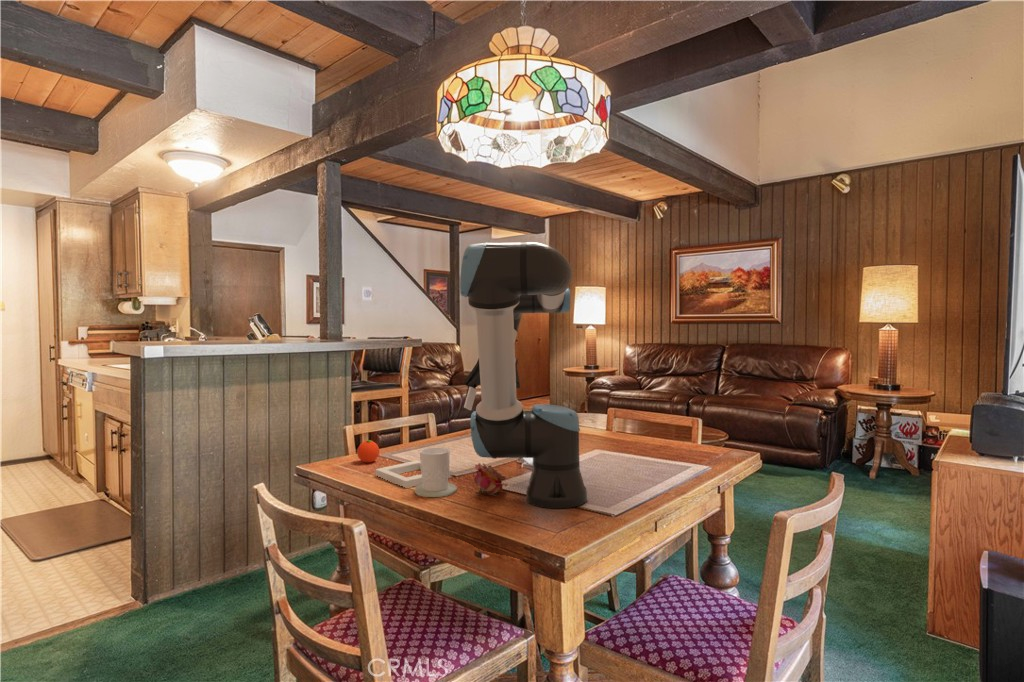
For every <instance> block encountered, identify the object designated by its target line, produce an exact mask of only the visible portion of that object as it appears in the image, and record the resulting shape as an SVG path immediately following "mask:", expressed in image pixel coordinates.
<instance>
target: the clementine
mask: <svg viewBox="0 0 1024 682" xmlns="http://www.w3.org/2000/svg"><path fill="white" fill-rule="evenodd" d="M356 452H357V453H356V455H357V457H358V459H359V460H360V461H362V462H363V463H367V464H368V463H373V462H374V461H376V460H377V459H378V457H379V454H380V447H379V446H378V444H377V443H376V442H374V441H373V440H372V439H371V440H364V441H363V442H361V443H360V444H359V446H358V447H357V450H356Z"/></svg>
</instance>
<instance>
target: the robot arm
mask: <svg viewBox="0 0 1024 682" xmlns="http://www.w3.org/2000/svg"><path fill="white" fill-rule="evenodd" d="M459 277H460V278H459V289H460V290H459V291H460V296H462V297H464V298H467V300H468V306H469V307H470V308H471V309H472V310H474V311H475V318H476V331H477V332H476V334H477V336H476V337H477V348H478V359H477V362H476V363H475V365H474V366H473V367H472V369H471V371H470V372H469V374H468V376H467V377H466V378H465V380H464V382H463V385H465V386H467V390H466V392H465V393H466V394H465V401H464V405H463V408H464V409H466V410H468V411H472V410H473V406H474V402H475V398H476V394H477V390H478V389H477V387H478V386H479V385H480V396H481V398H480V399H481V401H479V403H477V405H476V407H475V411H474V410H473V412H472V413H471V415H470V421H469V422H470V423H469V425H470V437H471V442H472V446H473V449H474V452H475V453H476V455H478V456H479V457H480V458H490V459H494V460H495V459H506V458H507V459H510V458H511V459H512V458H513V459H524V458H525V459H531V458H532V472H531V474H530V478H529V482H528V486H527V487H526V501H527V502H528V504H529V503H530V504H531V505H533V506H536V507H540V508H545V509H558V510H559V509H570V508H575V507H578V506H582V505H584V504H585V503H586V502H587V500H588V490H587V488H586V486H585V484H584V479H583V476H582V473H581V469H580V468H581V467H580V430H581V428H580V421H579V414H578V412H577V411H575V410H574V409H572V408H569V407H565V406H562V405H555V404H544V403H542V404H534V405H532V407H531V410H524V405H523V403H522V402H521V401H520V400H518V399H517V389H519V388H521V383H520V377H519V370H518V358H516V350H515V349H516V348H515V344H516V343H515V342H516V340H517V335H518V332H519V328H520V324H521V320H522V316H523V314H538V313H539V314H549V313H550V314H562V313H568V312H570V311H571V289H570V288H569V287H570V285H571V283H572V278H573V269H572V264H571V263H570V262H569V260H568V259H567V257H565V255H563V253H561V252H560V251H558V250H557V249H556V248H554V247H552V246H550V245H547V244H545V243H541V242H536V241H527V242H522V241H521V242H487V241H485V242H481V243H471V244H469V245H468V246H466V248H465V249H464V251H463V256H462V261H461V267H460V276H459ZM583 503H584V504H583ZM581 504H582V505H581Z"/></svg>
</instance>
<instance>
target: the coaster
mask: <svg viewBox="0 0 1024 682" xmlns="http://www.w3.org/2000/svg"><path fill="white" fill-rule="evenodd" d="M456 492H457V485H456V484H454V483H451V482H448V488H447V489H445V490H442V491H426V490H424V489H423V484H422V485H419V486H415V488H414V494H415V493H416V494H417V495H416V494H415V495H416V496H418V495H419V496H418V497H421V496H424V497H423V498H427V497H437V498H443V497H442V496H444V497H448V495H449V496H451V495H454V494H455V493H456Z"/></svg>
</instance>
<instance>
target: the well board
mask: <svg viewBox="0 0 1024 682" xmlns="http://www.w3.org/2000/svg"><path fill="white" fill-rule="evenodd" d="M419 470H420V471H421V463H420V459H417V460H413V461H412V460H411V461H409V462H403V463H399V464H394V465H390V466H389V465H388V466H385V467H380V468H375V477H377V476H378V477H377V478H379V477H381V478H380V479H382V478H383V479H382V480H384V479H385V480H384V481H387V480H388V481H387V482H389V481H391V482H393V483H392V484H394V483H395V484H394V485H396V484H398V485H397V486H399V485H400V486H399V487H401V486H403V487H402V488H404V487H405V488H404V489H409V488H408V487H411V488H413V487H412V486H415V487H417V485H422V484H423V482H422V475H421V473H420V474H416V475H412V476H411V475H410V476H404V475H401V474H405V472H406V473H409V472H414V471H419ZM450 478H452V470H451V469H449V478H448V479H450ZM391 482H390V483H391Z"/></svg>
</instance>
